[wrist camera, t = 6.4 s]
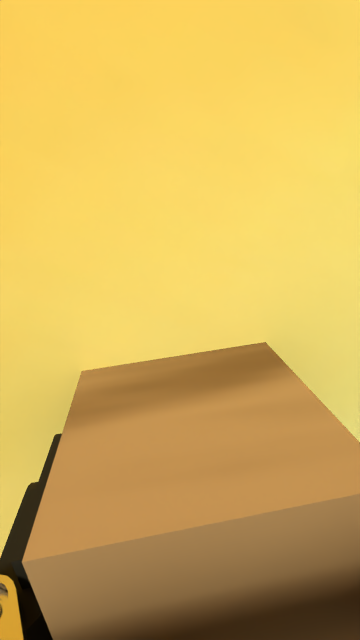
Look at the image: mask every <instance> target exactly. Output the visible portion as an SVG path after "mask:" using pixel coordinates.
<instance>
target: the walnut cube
mask: <svg viewBox="0 0 360 640" xmlns="http://www.w3.org/2000/svg"><path fill="white" fill-rule="evenodd" d="M22 564H23V566H24V569H25V571H26V574H27V576H28V579H29V581H30V584H31V586H32V589H33V591H34V594H35V596H36V599H37V601H38V604H39V606H40V609H41V611H42V613H43V616H44V618H45V621H46V623H47V626H48V628H49V631H50V633H51V636H52V638H53V640H360V442H359V441H358V440H357V439H356V438H355V437H354V436H353V435H352V434H351V433H350V432H349V431H348V430H347V429H346V427H345V426H344V425H343V424H342V423H341V422H340V421H339V420H338V419H337V418H336V417H335V416H334V415H333V414H332V413H331V411H330V410H329V409H328V408H327V407H326V406H325V405H324V404H323V403H322V402H321V401H320V400H319V399H318V398H317V397H316V396H315V394H314V393H313V392H312V391H311V390H310V389H309V388H308V387H307V386H306V385H305V384H304V383H303V382H302V381H301V380H300V379H299V377H298V376H297V375H296V374H295V373H294V372H293V371H292V370H291V369H290V368H289V367H288V366H287V365H286V364H285V363H284V362H283V360H282V359H281V358H280V357H279V356H278V355H277V354H276V353H275V352H274V351H273V350H272V349H271V348H270V347H269V346H268V345H267V343H266V342H264V343H258V344H251V345H245V346H239V347H232V348H226V349H220V350H213V351H207V352H200V353H194V354H188V355H181V356H175V357H169V358H162V359H156V360H150V361H143V362H137V363H131V364H124V365H118V366H112V367H105V368H99V369H93V370H86V371H82V372H81V375H80V379H79V382H78V385H77V388H76V391H75V394H74V398H73V401H72V404H71V407H70V410H69V414H68V417H67V420H66V423H65V426H64V429H63V433H62V436H61V439H60V442H59V445H58V449H57V452H56V455H55V458H54V461H53V464H52V468H51V471H50V474H49V477H48V480H47V483H46V487H45V490H44V493H43V496H42V499H41V503H40V506H39V509H38V512H37V515H36V518H35V522H34V525H33V528H32V531H31V534H30V538H29V541H28V544H27V547H26V550H25V553H24V557H23V560H22Z"/></svg>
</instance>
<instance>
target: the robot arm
mask: <svg viewBox="0 0 360 640" xmlns="http://www.w3.org/2000/svg"><path fill="white" fill-rule="evenodd" d="M61 436H62V434H56V435H55V436H54V439H53V442H52V444H51V447H50V450H49V453H48V456H47V459H46V462H45V464H44V467H43V470H42V473H41V476H40V479H39V482H35V483H31V484H30V485H29V486H28V488H27V490H26V492H25V495H24V497H23V500H22V503H21V505H20V508H19V510H18V513H17V516H16V518H15V521H14V524H13V526H12V529H11V531H10V534H9V537H8V539H7V542H6V545H5V547H4V550H3V552H2V555H1V558H0V640H53V638H52V636H51V633H50V631H49V628H48V626H47V623H46V621H45V618H44V616H43V613H42V611H41V609H40V606H39V604H38V601H37V599H36V596H35V594H34V591H33V589H32V586H31V584H30V581H29V579H28V576H27V574H26V571H25V569H24V566H23V564H22V560H23V557H24V553H25V550H26V547H27V544H28V541H29V538H30V534H31V531H32V528H33V525H34V522H35V518H36V515H37V512H38V509H39V506H40V503H41V499H42V496H43V493H44V490H45V487H46V483H47V480H48V477H49V474H50V471H51V468H52V464H53V461H54V458H55V455H56V452H57V449H58V445H59V442H60V439H61Z"/></svg>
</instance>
